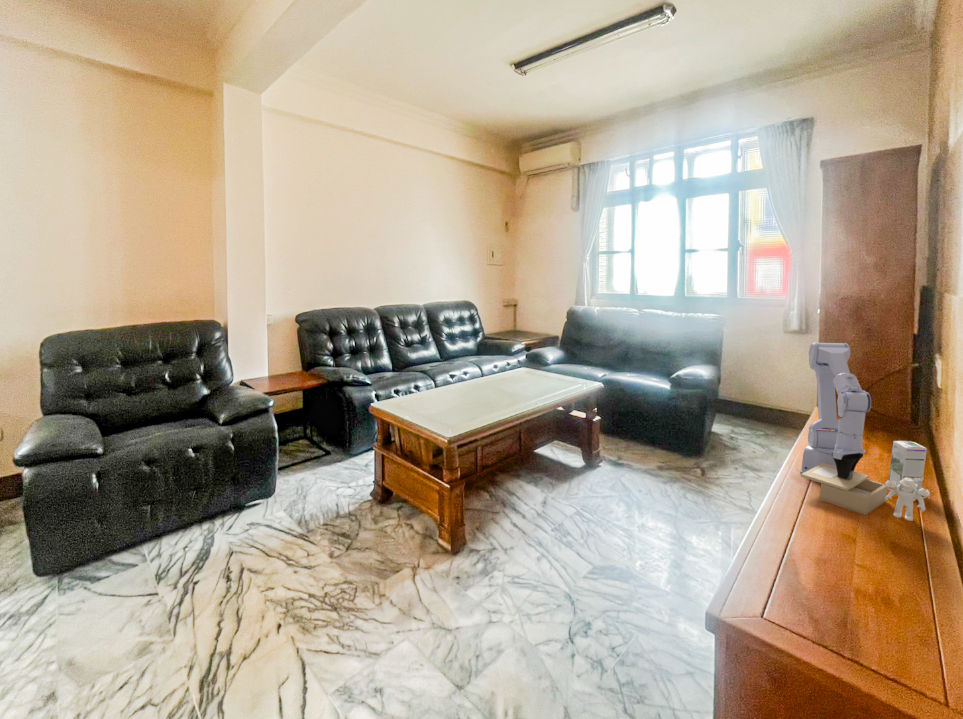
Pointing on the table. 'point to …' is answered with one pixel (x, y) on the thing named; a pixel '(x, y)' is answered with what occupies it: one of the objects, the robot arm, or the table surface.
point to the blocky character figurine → (907, 496)
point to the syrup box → (907, 462)
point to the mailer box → (856, 496)
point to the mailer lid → (834, 477)
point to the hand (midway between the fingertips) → (844, 476)
